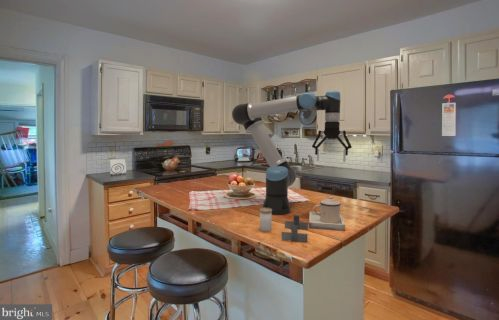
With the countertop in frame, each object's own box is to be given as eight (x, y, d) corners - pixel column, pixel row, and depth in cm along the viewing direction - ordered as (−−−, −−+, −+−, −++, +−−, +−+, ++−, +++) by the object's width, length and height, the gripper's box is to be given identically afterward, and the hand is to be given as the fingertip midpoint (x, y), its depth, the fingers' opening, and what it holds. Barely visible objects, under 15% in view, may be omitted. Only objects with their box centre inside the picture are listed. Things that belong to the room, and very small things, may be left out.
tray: (309, 228, 123) (309, 222, 123) (309, 216, 141) (309, 211, 140) (344, 230, 120) (344, 225, 120) (340, 218, 137) (340, 213, 137)
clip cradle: (281, 240, 109) (281, 225, 109) (285, 227, 124) (285, 214, 124) (307, 242, 107) (307, 227, 107) (307, 229, 122) (308, 215, 121)
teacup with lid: (339, 218, 133) (340, 195, 132) (340, 225, 124) (341, 199, 123) (313, 216, 136) (314, 193, 135) (312, 222, 127) (313, 197, 126)
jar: (258, 231, 119) (258, 210, 119) (260, 226, 125) (260, 207, 124) (270, 232, 118) (271, 211, 117) (272, 227, 123) (272, 207, 123)
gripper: (308, 121, 146) (307, 161, 148) (358, 120, 141) (356, 162, 143) (308, 121, 154) (307, 160, 156) (356, 121, 148) (354, 161, 150)
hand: (330, 161), depth 149 cm, fingers open, 13 cm apart
